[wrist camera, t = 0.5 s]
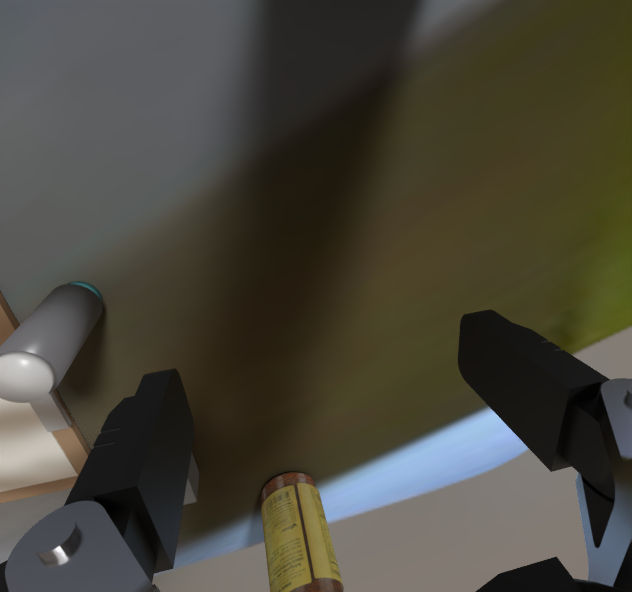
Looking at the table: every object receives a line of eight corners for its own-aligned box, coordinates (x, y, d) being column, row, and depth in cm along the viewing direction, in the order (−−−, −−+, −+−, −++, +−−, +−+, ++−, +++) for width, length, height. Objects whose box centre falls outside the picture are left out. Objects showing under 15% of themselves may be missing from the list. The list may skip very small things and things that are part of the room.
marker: (46, 281, 24) (-37, 362, 17) (97, 274, 24) (39, 349, 17) (66, 321, 26) (-2, 411, 18) (113, 313, 26) (66, 399, 19)
